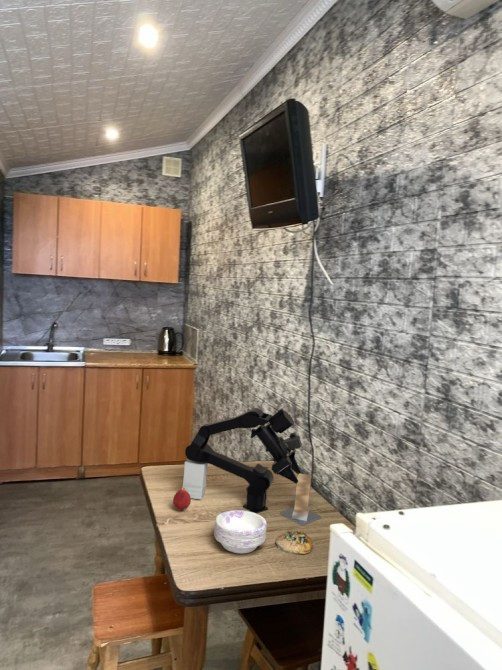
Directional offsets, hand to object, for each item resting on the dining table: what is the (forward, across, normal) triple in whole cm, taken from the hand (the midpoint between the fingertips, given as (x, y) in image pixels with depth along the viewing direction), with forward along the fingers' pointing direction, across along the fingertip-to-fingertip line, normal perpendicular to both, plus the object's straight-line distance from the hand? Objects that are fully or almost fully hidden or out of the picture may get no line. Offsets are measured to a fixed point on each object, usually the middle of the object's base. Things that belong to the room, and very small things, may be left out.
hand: (298, 477), depth 170 cm
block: (+10, 0, +7) cm, 13 cm away
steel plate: (+11, 0, +8) cm, 13 cm away
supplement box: (-16, +2, +36) cm, 39 cm away
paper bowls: (0, -27, +19) cm, 33 cm away
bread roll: (+11, -22, +8) cm, 26 cm away
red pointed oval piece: (-16, -12, +36) cm, 41 cm away
